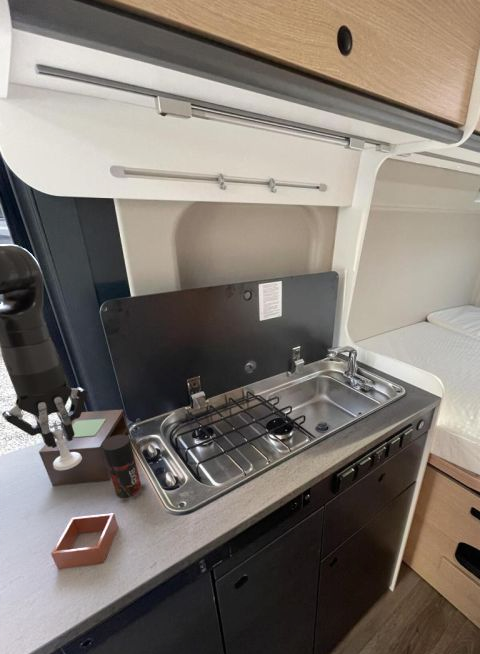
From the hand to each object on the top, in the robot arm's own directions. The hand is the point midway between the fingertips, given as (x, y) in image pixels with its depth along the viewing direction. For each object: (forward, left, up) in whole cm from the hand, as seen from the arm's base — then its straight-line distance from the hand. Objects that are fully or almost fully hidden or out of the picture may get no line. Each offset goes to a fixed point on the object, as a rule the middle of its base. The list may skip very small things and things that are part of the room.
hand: (61, 442), depth 66 cm
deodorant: (+6, +9, -23) cm, 25 cm away
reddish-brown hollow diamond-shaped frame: (+3, -7, -23) cm, 24 cm away
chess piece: (0, 0, -5) cm, 5 cm away
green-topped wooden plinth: (-7, +22, -23) cm, 33 cm away
